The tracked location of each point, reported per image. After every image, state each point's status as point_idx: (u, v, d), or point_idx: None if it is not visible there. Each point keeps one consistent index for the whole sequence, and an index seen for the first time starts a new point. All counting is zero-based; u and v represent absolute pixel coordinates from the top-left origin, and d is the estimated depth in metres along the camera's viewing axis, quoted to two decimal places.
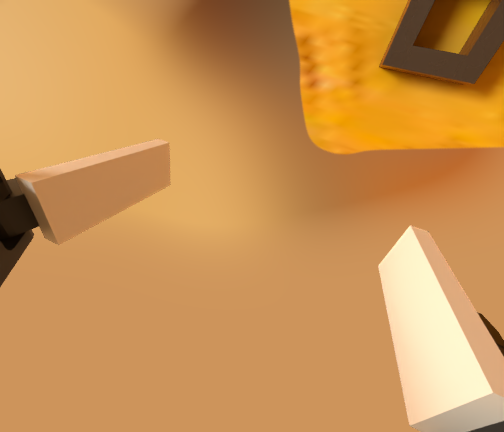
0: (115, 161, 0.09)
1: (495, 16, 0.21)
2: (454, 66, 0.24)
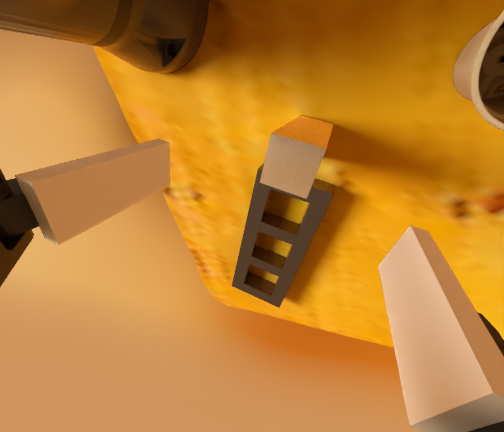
0: (115, 161, 0.09)
1: (277, 286, 0.37)
2: (267, 298, 0.40)
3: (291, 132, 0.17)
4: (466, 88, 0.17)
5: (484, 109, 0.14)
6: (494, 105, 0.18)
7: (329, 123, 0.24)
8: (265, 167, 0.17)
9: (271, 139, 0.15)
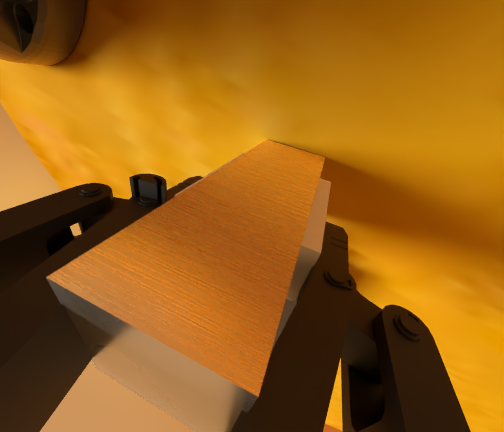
0: None
1: None
2: None
3: (174, 236, 0.05)
4: None
5: None
6: None
7: (317, 156, 0.13)
8: (89, 349, 0.05)
9: (59, 295, 0.04)
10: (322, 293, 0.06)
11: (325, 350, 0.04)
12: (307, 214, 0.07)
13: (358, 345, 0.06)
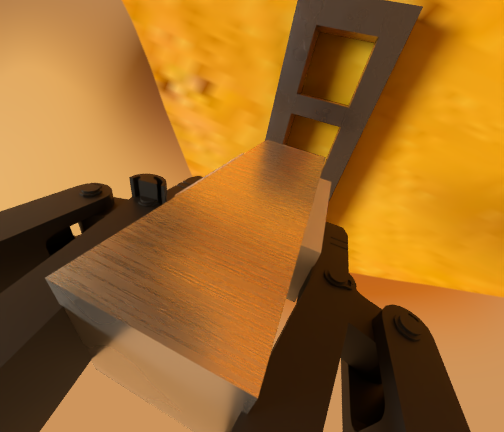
0: None
1: None
2: None
3: (173, 236, 0.05)
4: None
5: None
6: None
7: (317, 156, 0.13)
8: (89, 350, 0.05)
9: (58, 296, 0.04)
10: (322, 293, 0.06)
11: (325, 350, 0.04)
12: (307, 214, 0.07)
13: (358, 345, 0.06)
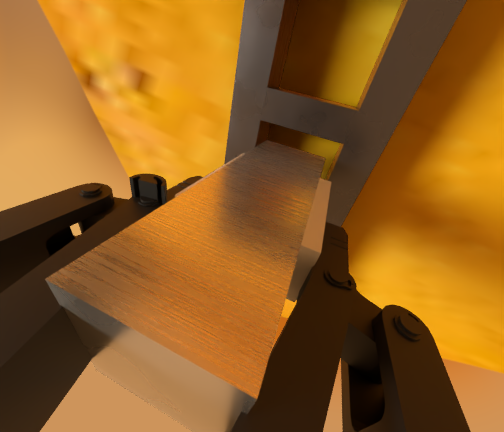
0: None
1: None
2: None
3: (173, 237, 0.05)
4: None
5: None
6: None
7: (317, 157, 0.13)
8: (89, 350, 0.05)
9: (58, 297, 0.04)
10: (322, 293, 0.06)
11: (325, 350, 0.04)
12: (307, 215, 0.07)
13: (358, 345, 0.06)
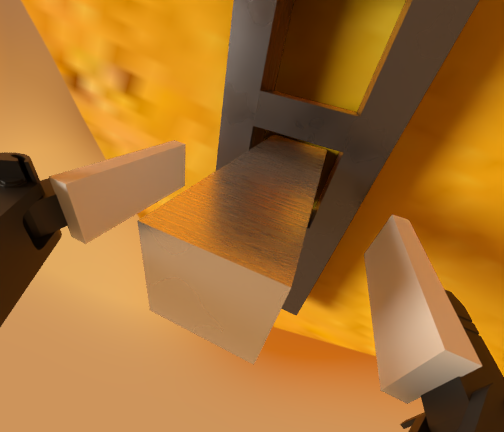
0: (137, 162, 0.09)
1: None
2: None
3: (215, 201, 0.07)
4: None
5: None
6: None
7: (319, 149, 0.15)
8: (151, 288, 0.07)
9: (143, 236, 0.05)
10: None
11: None
12: (314, 191, 0.09)
13: None
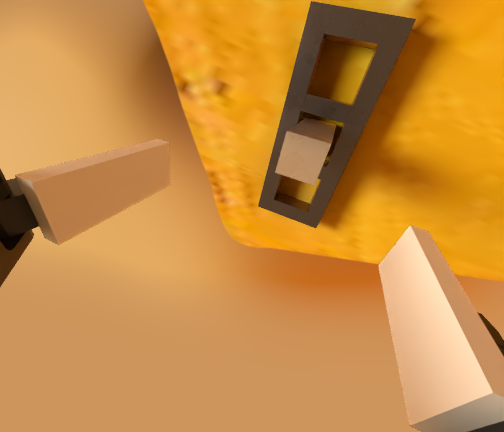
0: (115, 161, 0.09)
1: (316, 194, 0.31)
2: (301, 216, 0.33)
3: (302, 130, 0.20)
4: None
5: None
6: None
7: (332, 124, 0.28)
8: (280, 159, 0.20)
9: (286, 136, 0.19)
10: None
11: None
12: (333, 134, 0.22)
13: None
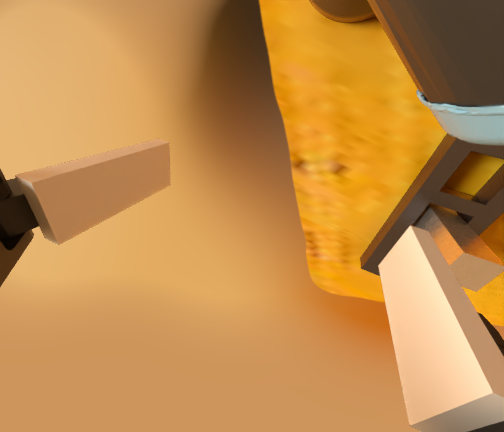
0: (115, 161, 0.09)
1: None
2: None
3: (466, 245, 0.23)
4: None
5: None
6: None
7: None
8: None
9: (461, 255, 0.22)
10: None
11: None
12: (479, 238, 0.25)
13: None
